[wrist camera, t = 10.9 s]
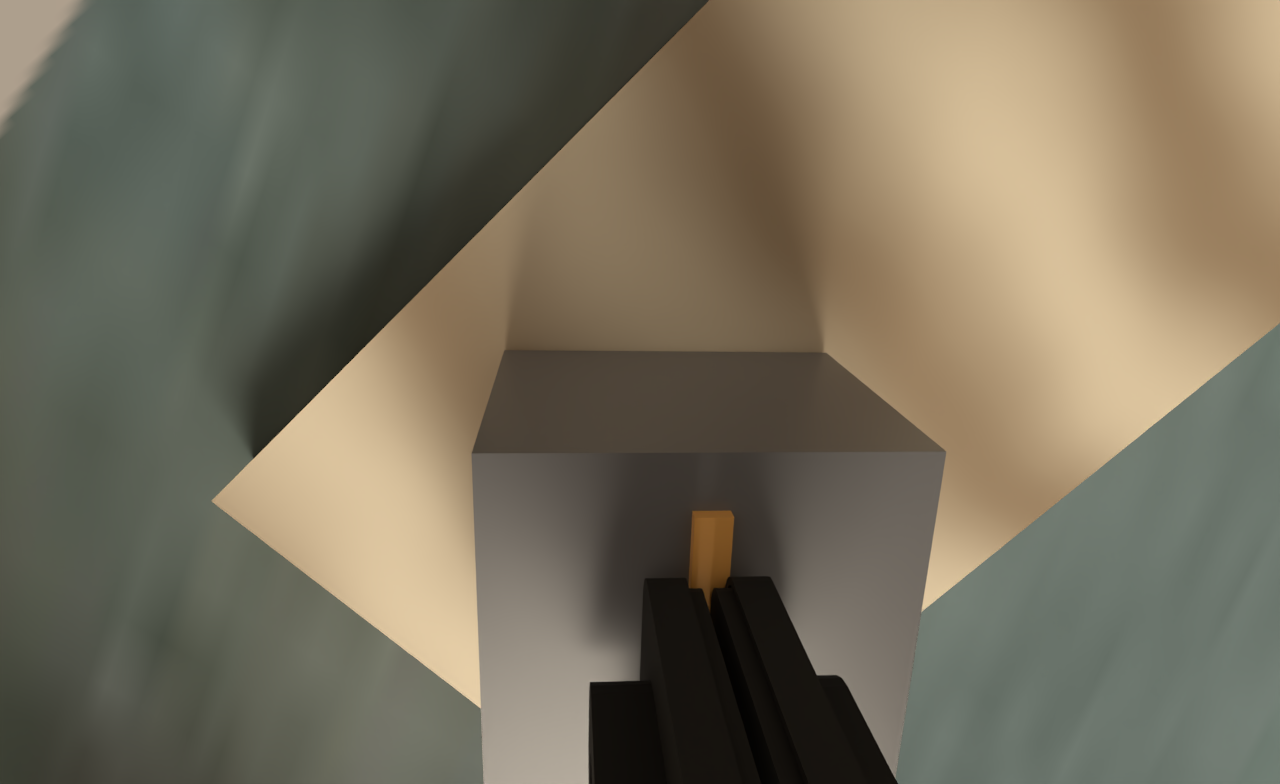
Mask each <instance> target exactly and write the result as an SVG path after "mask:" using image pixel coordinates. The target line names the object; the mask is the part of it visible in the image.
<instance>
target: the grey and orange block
mask: <svg viewBox="0 0 1280 784" xmlns="http://www.w3.org/2000/svg"><path fill="white" fill-rule="evenodd" d="M471 456H472V483H473V510H474V536H475V563H476V590H477V616H478V643H479V669H480V696H481V723H482V749H483V776H484V784H589V768H588V737H589V686H590V682H612V681H640V660H641V634H642V607H643V586H644V580H645V578H686V579H687V582H688V585H689V588H702V590H703V592H704V595H705V599H706V602H707V605H708V609H709V612H710V607H711V595H712V590H713V588H725V585H726V581H727V579H728V577H744V576H769V577H771V579H772V580H773V582H774V585H775V587H776V589H777V591H778V593H779V595H780V597H781V600H782V602H783V604H784V606H785V608H786V610H787V612H788V615H789V617H790V619H791V621H792V623H793V625H794V627H795V630H796V632H797V634H798V636H799V638H800V640H801V642H802V645H803V647H804V649H805V651H806V653H807V655H808V657H809V660H810V662H811V664H812V666H813V668H814V670H815V672H816V674H817V675H838V676H839V677H841V678H842V679H843V680H844V682H845V683H846V685H847V686H848V688H849V690H850V692H851V694H852V696H853V698H854V700H855V702H856V704H857V705H858V707H859V709H860V711H861V713H862V715H863V717H864V719H865V721H866V723H867V725H868V727H869V729H870V731H871V733H872V735H873V737H874V739H875V740H876V742H877V744H878V746H879V748H880V750H881V752H882V754H883V756H884V758H885V760H886V762H887V764H888V766H889V768H890V770H891V772H892V773H893V775H894V777H895V776H896V770H897V764H898V757H899V751H900V745H901V738H902V732H903V725H904V719H905V713H906V706H907V700H908V694H909V687H910V681H911V675H912V668H913V662H914V656H915V649H916V643H917V636H918V630H919V624H920V617H921V611H922V605H923V598H924V592H925V586H926V579H927V573H928V567H929V560H930V554H931V547H932V541H933V535H934V528H935V522H936V516H937V509H938V503H939V497H940V490H941V484H942V477H943V471H944V465H945V458H946V451H945V450H944V449H943V448H942V447H940V446H939V445H938V444H937V443H936V442H934V441H933V440H932V439H931V438H929V437H928V436H927V435H926V434H925V433H923V432H922V431H921V430H920V429H919V428H917V427H916V426H915V425H914V424H912V423H911V422H910V421H909V420H908V419H906V418H905V417H904V416H903V415H901V414H900V413H899V412H898V411H897V410H895V409H894V408H893V407H892V406H891V405H889V404H888V403H887V402H886V401H884V400H883V399H882V398H881V397H880V396H878V395H877V394H876V393H875V392H874V391H872V390H871V389H870V388H869V387H867V386H866V385H865V384H864V383H863V382H861V381H860V380H859V379H858V378H856V377H855V376H854V375H853V374H852V373H850V372H849V371H848V370H847V369H846V368H844V367H843V366H842V365H841V364H839V363H838V362H837V361H836V360H835V359H833V358H832V357H831V356H830V355H828V354H827V353H817V352H682V351H548V350H504V353H503V356H502V359H501V362H500V365H499V368H498V372H497V375H496V378H495V381H494V384H493V387H492V390H491V394H490V397H489V400H488V403H487V406H486V409H485V412H484V416H483V419H482V422H481V425H480V428H479V431H478V434H477V438H476V441H475V444H474V447H473V450H472V453H471Z"/></svg>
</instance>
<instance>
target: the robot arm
mask: <svg viewBox="0 0 1280 784" xmlns="http://www.w3.org/2000/svg"><path fill="white" fill-rule="evenodd" d="M588 768H589V784H898V783H897V781H896V779H895V777H894V775H893V773H892V772H891V770H890V768H889V766H888V764H887V762H886V760H885V758H884V756H883V754H882V752H881V750H880V748H879V746H878V744H877V742H876V740H875V739H874V737H873V735H872V733H871V731H870V729H869V727H868V725H867V723H866V721H865V719H864V717H863V715H862V713H861V711H860V709H859V707H858V705H857V704H856V702H855V700H854V698H853V696H852V694H851V692H850V690H849V688H848V686H847V685H846V683H845V682H844V680H843V679H842V678H841V677H839V676H838V675H817V674H816V672H815V670H814V668H813V666H812V664H811V662H810V660H809V657H808V655H807V653H806V651H805V649H804V647H803V645H802V642H801V640H800V638H799V636H798V634H797V632H796V630H795V627H794V625H793V623H792V621H791V619H790V617H789V615H788V612H787V610H786V608H785V606H784V604H783V602H782V600H781V597H780V595H779V593H778V591H777V589H776V587H775V585H774V582H773V580H772V579H771V577H769V576H744V577H728V579H727V581H726V585H725V588H713V590H712V595H711V607H710V612H709V609H708V605H707V602H706V599H705V595H704V592H703V590H702V588H689V585H688V582H687V579H686V578H645V580H644V586H643V607H642V634H641V660H640V681H612V682H590V686H589V737H588Z"/></svg>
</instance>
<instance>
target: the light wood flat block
mask: <svg viewBox="0 0 1280 784" xmlns="http://www.w3.org/2000/svg"><path fill="white" fill-rule="evenodd" d="M1279 323H1280V0H709V1H708V2H707V3H706V4H705V5H704V6H703V7H702V8H701V9H700V10H699V11H698V12H697V13H696V14H695V15H694V16H693V17H692V18H691V19H690V20H689V21H688V22H687V23H686V24H685V25H684V26H683V27H682V28H681V29H680V30H679V31H678V32H677V33H676V34H675V35H674V36H673V37H672V38H671V39H670V40H669V41H668V42H667V43H666V44H665V45H664V46H663V47H662V48H661V49H660V50H659V51H658V52H657V53H656V54H655V55H654V56H653V57H652V58H651V59H650V60H649V61H648V62H647V63H646V64H645V66H644V67H643V68H642V69H641V70H640V71H639V72H638V73H637V74H636V75H635V76H634V77H633V78H632V79H631V80H630V81H629V82H628V83H627V84H626V85H625V86H624V87H623V88H622V89H621V90H620V91H619V92H618V93H617V94H616V95H615V96H614V97H613V98H612V99H611V100H610V101H609V102H608V103H607V104H606V105H605V106H604V107H603V108H602V109H601V110H600V111H599V112H598V113H597V114H596V115H595V116H594V117H593V118H592V119H591V120H590V121H589V122H588V123H587V124H586V125H585V126H584V127H583V128H582V129H581V130H580V131H579V132H578V133H577V134H576V135H575V136H574V137H573V138H572V139H571V140H570V141H569V142H568V143H567V144H566V145H565V146H564V147H563V148H562V149H561V150H560V151H559V152H558V153H557V154H556V155H555V156H554V157H553V158H552V159H551V160H550V161H549V162H548V163H547V164H546V165H545V166H544V167H543V168H542V169H541V170H540V171H539V172H538V173H537V174H536V175H535V176H534V177H533V178H532V179H531V180H530V181H529V182H528V183H527V184H526V185H525V186H524V187H523V188H522V189H521V190H520V191H519V192H518V193H517V194H516V195H515V196H514V197H513V198H512V199H511V200H510V201H509V202H508V203H507V204H506V205H505V206H504V207H503V208H502V209H501V210H500V211H499V212H498V213H497V214H496V215H495V216H494V217H493V218H492V219H491V220H490V221H489V222H488V223H487V224H486V225H485V226H484V227H483V229H482V230H481V231H480V232H479V233H478V234H477V235H476V236H475V237H474V238H473V239H472V240H471V241H470V242H469V243H468V244H467V245H466V246H465V247H464V248H463V249H462V250H461V251H460V252H459V253H458V254H457V255H456V256H455V257H454V258H453V259H452V260H451V261H450V262H449V263H448V264H447V265H446V266H445V267H444V268H443V269H442V270H441V271H440V272H439V273H438V274H437V275H436V276H435V277H434V278H433V279H432V280H431V281H430V282H429V283H428V284H427V285H426V286H425V287H424V288H423V289H422V290H421V291H420V292H419V293H418V294H417V295H416V296H415V297H414V298H413V299H412V300H411V301H410V302H409V303H408V304H407V305H406V306H405V307H404V308H403V309H402V310H401V311H400V312H399V313H398V314H397V315H396V316H395V317H394V318H393V319H392V320H391V321H390V322H389V323H388V324H387V325H386V326H385V327H384V328H383V329H382V330H381V331H380V332H379V333H378V334H377V335H376V336H375V337H374V338H373V339H372V340H371V341H370V342H369V343H368V344H367V345H366V346H365V347H364V348H363V349H362V350H361V351H360V352H359V353H358V354H357V355H356V356H355V357H354V358H353V359H352V360H351V361H350V362H349V363H348V364H347V365H346V366H345V367H344V368H343V369H342V370H341V371H340V372H339V373H338V374H337V375H336V376H335V377H334V378H333V379H332V380H331V381H330V382H329V383H328V384H327V385H326V386H325V387H324V388H323V389H322V390H321V392H320V393H319V394H318V395H317V396H316V397H315V398H314V399H313V400H312V401H311V402H310V403H309V404H308V405H307V406H306V407H305V408H304V409H303V410H302V411H301V412H300V413H299V414H298V415H297V416H296V417H295V418H294V419H293V420H292V421H291V422H290V423H289V424H288V425H287V426H286V427H285V428H284V429H283V430H282V431H281V432H280V433H279V434H278V435H277V436H276V437H275V438H274V439H273V440H272V441H271V442H270V443H269V444H268V445H267V446H266V447H265V448H264V449H263V450H262V451H261V452H260V453H259V454H258V455H257V456H256V457H255V458H254V459H253V460H252V461H251V462H250V463H249V464H248V465H247V466H246V467H245V468H244V469H243V470H242V471H241V472H240V473H239V474H238V475H237V476H236V477H235V478H234V479H233V480H232V481H231V482H230V483H229V484H228V485H227V486H226V487H225V488H224V489H223V490H222V491H221V492H220V493H219V494H218V495H217V496H216V497H215V498H214V499H213V500H212V502H213V503H214V504H216V505H217V506H218V507H220V508H221V509H222V510H224V511H225V512H226V513H227V514H229V515H230V516H231V517H233V518H234V519H235V520H237V521H238V522H239V523H240V524H242V525H243V526H244V527H246V528H247V529H248V530H250V531H251V532H252V533H253V534H255V535H256V536H257V537H259V538H260V539H261V540H263V541H264V542H265V543H266V544H268V545H269V546H270V547H272V548H273V549H274V550H276V551H277V552H278V553H279V554H281V555H282V556H283V557H285V558H286V559H287V560H289V561H290V562H291V563H292V564H294V565H295V566H296V567H298V568H299V569H300V570H302V571H303V572H304V573H305V574H307V575H308V576H309V577H311V578H312V579H313V580H315V581H316V582H317V583H318V584H320V585H321V586H322V587H324V588H325V589H326V590H328V591H329V592H330V593H331V594H333V595H334V596H335V597H337V598H338V599H339V600H341V601H342V602H343V603H344V604H346V605H347V606H348V607H350V608H351V609H352V610H354V611H355V612H356V613H357V614H359V615H360V616H361V617H363V618H364V619H365V620H367V621H368V622H369V623H370V624H372V625H373V626H374V627H376V628H377V629H378V630H380V631H381V632H382V633H383V634H385V635H386V636H387V637H389V638H390V639H391V640H393V641H394V642H395V643H396V644H398V645H399V646H400V647H402V648H403V649H404V650H406V651H407V652H408V653H409V654H411V655H412V656H413V657H415V658H416V659H417V660H419V661H420V662H421V663H422V664H424V665H425V666H426V667H428V668H429V669H430V670H432V671H433V672H434V673H435V674H437V675H438V676H439V677H441V678H442V679H443V680H445V681H446V682H447V683H448V684H450V685H451V686H452V687H454V688H455V689H456V690H458V691H459V692H460V693H461V694H463V695H464V696H465V697H467V698H468V699H469V700H471V701H472V702H473V703H474V704H476V705H477V706H478V707H480V708H481V696H480V669H479V643H478V616H477V590H476V563H475V536H474V510H473V483H472V456H471V453H472V450H473V447H474V444H475V441H476V438H477V434H478V431H479V428H480V425H481V422H482V419H483V416H484V412H485V409H486V406H487V403H488V400H489V397H490V394H491V390H492V387H493V384H494V381H495V378H496V375H497V372H498V368H499V365H500V362H501V359H502V356H503V353H504V350H548V351H682V352H817V353H827V354H828V355H830V356H831V357H832V358H833V359H835V360H836V361H837V362H838V363H839V364H841V365H842V366H843V367H844V368H846V369H847V370H848V371H849V372H850V373H852V374H853V375H854V376H855V377H856V378H858V379H859V380H860V381H861V382H863V383H864V384H865V385H866V386H867V387H869V388H870V389H871V390H872V391H874V392H875V393H876V394H877V395H878V396H880V397H881V398H882V399H883V400H884V401H886V402H887V403H888V404H889V405H891V406H892V407H893V408H894V409H895V410H897V411H898V412H899V413H900V414H901V415H903V416H904V417H905V418H906V419H908V420H909V421H910V422H911V423H912V424H914V425H915V426H916V427H917V428H919V429H920V430H921V431H922V432H923V433H925V434H926V435H927V436H928V437H929V438H931V439H932V440H933V441H934V442H936V443H937V444H938V445H939V446H940V447H942V448H943V449H944V450H945V451H946V458H945V465H944V471H943V477H942V484H941V490H940V497H939V503H938V509H937V516H936V522H935V528H934V535H933V541H932V547H931V554H930V560H929V567H928V573H927V579H926V586H925V592H924V598H923V605H922V611H923V610H924V609H925V608H927V607H928V606H929V605H930V604H932V603H933V602H934V601H935V600H937V599H938V598H939V597H940V596H942V595H943V594H944V593H945V592H947V591H948V590H949V589H950V588H951V587H953V586H954V585H955V584H956V583H958V582H959V581H960V580H961V579H963V578H964V577H965V576H966V575H968V574H969V573H970V572H971V571H973V570H974V569H975V568H976V567H978V566H979V565H980V564H981V563H982V562H984V561H985V560H986V559H987V558H989V557H990V556H991V555H992V554H994V553H995V552H996V551H997V550H999V549H1000V548H1001V547H1002V546H1004V545H1005V544H1006V543H1007V542H1009V541H1010V540H1011V539H1012V538H1014V537H1015V536H1016V535H1017V534H1018V533H1020V532H1021V531H1022V530H1023V529H1025V528H1026V527H1027V526H1028V525H1030V524H1031V523H1032V522H1033V521H1035V520H1036V519H1037V518H1038V517H1040V516H1041V515H1042V514H1043V513H1045V512H1046V511H1047V510H1048V509H1049V508H1051V507H1052V506H1053V505H1054V504H1056V503H1057V502H1058V501H1059V500H1061V499H1062V498H1063V497H1064V496H1066V495H1067V494H1068V493H1069V492H1071V491H1072V490H1073V489H1074V488H1076V487H1077V486H1078V485H1079V484H1080V483H1082V482H1083V481H1084V480H1085V479H1087V478H1088V477H1089V476H1090V475H1092V474H1093V473H1094V472H1095V471H1097V470H1098V469H1099V468H1100V467H1102V466H1103V465H1104V464H1105V463H1107V462H1108V461H1109V460H1110V459H1111V458H1113V457H1114V456H1115V455H1116V454H1118V453H1119V452H1120V451H1121V450H1123V449H1124V448H1125V447H1126V446H1128V445H1129V444H1130V443H1131V442H1133V441H1134V440H1135V439H1136V438H1138V437H1139V436H1140V435H1141V434H1142V433H1144V432H1145V431H1146V430H1147V429H1149V428H1150V427H1151V426H1152V425H1154V424H1155V423H1156V422H1157V421H1159V420H1160V419H1161V418H1162V417H1164V416H1165V415H1166V414H1167V413H1169V412H1170V411H1171V410H1172V409H1173V408H1175V407H1176V406H1177V405H1178V404H1180V403H1181V402H1182V401H1183V400H1185V399H1186V398H1187V397H1188V396H1190V395H1191V394H1192V393H1193V392H1195V391H1196V390H1197V389H1198V388H1200V387H1201V386H1202V385H1203V384H1204V383H1206V382H1207V381H1208V380H1209V379H1211V378H1212V377H1213V376H1214V375H1216V374H1217V373H1218V372H1219V371H1221V370H1222V369H1223V368H1224V367H1226V366H1227V365H1228V364H1229V363H1231V362H1232V361H1233V360H1234V359H1235V358H1237V357H1238V356H1239V355H1240V354H1242V353H1243V352H1244V351H1245V350H1247V349H1248V348H1249V347H1250V346H1252V345H1253V344H1254V343H1255V342H1257V341H1258V340H1259V339H1260V338H1262V337H1263V336H1264V335H1265V334H1267V333H1268V332H1269V331H1270V330H1271V329H1273V328H1274V327H1275V326H1276V325H1278V324H1279ZM922 611H921V612H922Z"/></svg>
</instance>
